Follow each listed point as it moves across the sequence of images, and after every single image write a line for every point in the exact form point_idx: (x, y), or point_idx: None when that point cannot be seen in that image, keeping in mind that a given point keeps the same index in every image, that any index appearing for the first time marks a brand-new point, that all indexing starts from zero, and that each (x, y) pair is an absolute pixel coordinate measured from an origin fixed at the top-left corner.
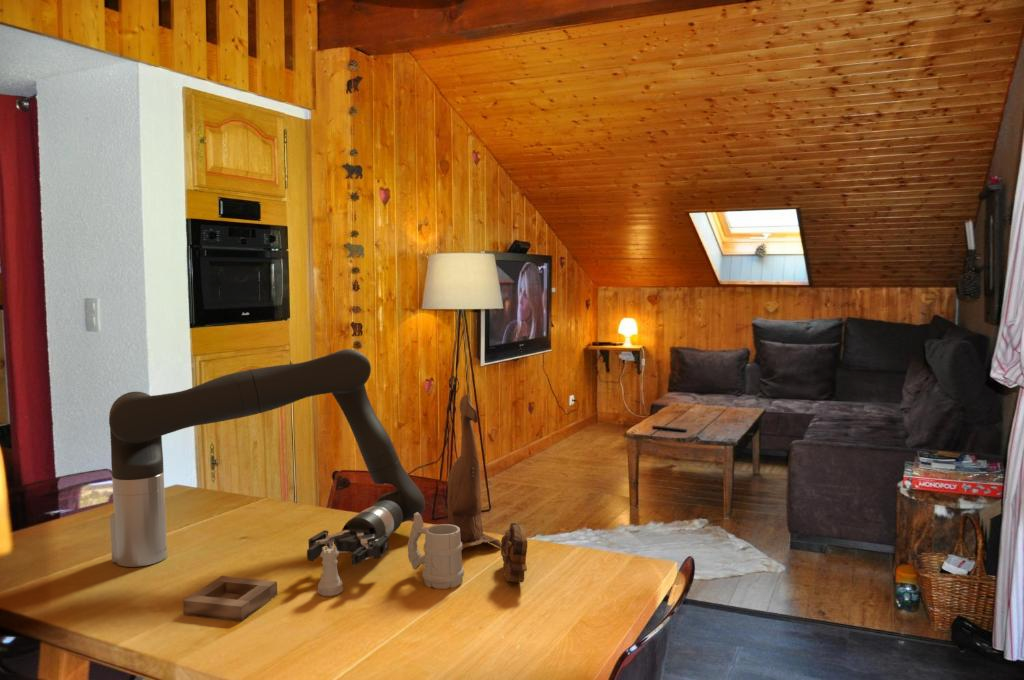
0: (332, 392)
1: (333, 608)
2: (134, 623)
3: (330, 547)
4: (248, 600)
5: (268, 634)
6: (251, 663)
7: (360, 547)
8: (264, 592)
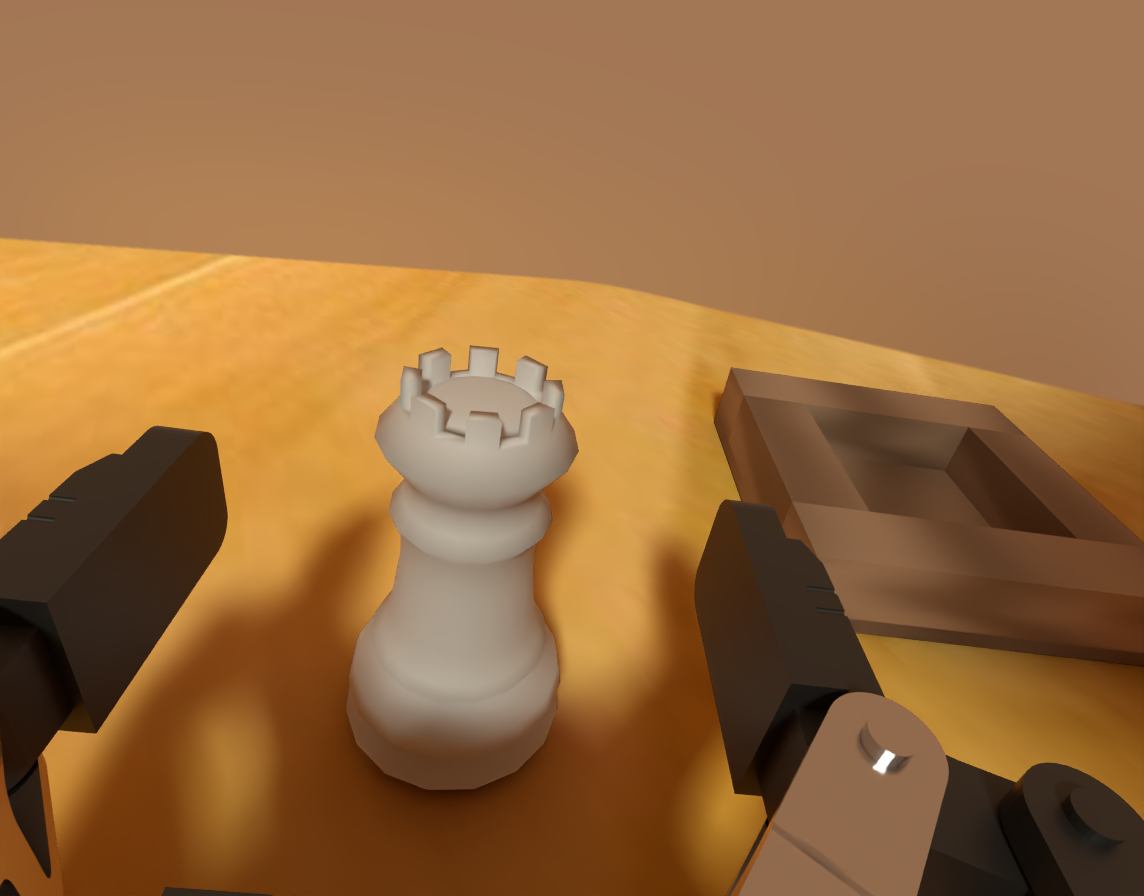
0: None
1: (360, 510)
2: (1025, 419)
3: (495, 422)
4: (752, 398)
5: (555, 367)
6: (512, 289)
7: (47, 582)
8: (771, 475)
